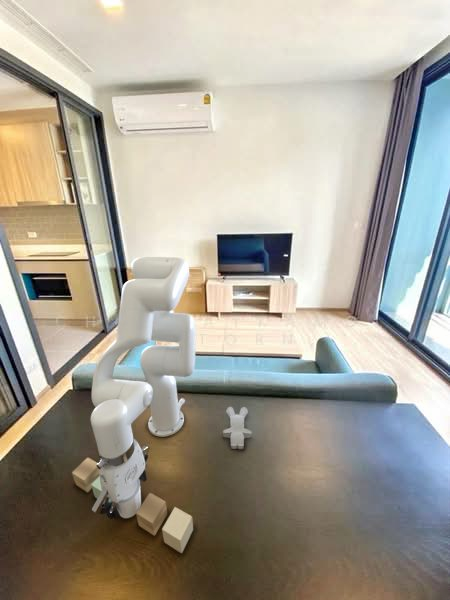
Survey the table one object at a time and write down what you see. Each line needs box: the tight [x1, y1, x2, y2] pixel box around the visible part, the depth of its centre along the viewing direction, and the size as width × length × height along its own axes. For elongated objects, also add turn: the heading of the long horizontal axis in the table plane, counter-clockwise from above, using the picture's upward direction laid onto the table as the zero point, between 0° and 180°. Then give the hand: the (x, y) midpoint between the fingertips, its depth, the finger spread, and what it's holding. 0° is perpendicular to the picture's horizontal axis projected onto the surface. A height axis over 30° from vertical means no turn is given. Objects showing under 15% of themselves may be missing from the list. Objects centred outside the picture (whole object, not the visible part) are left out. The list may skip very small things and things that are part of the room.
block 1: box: [71, 457, 99, 493], centre depth 71 cm, size 5×5×5 cm
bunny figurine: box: [222, 406, 252, 450], centre depth 86 cm, size 10×5×15 cm
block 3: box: [135, 492, 168, 536], centre depth 62 cm, size 5×5×5 cm
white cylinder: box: [115, 479, 142, 519], centre depth 64 cm, size 7×7×7 cm
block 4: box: [161, 506, 194, 554], centre depth 59 cm, size 5×5×5 cm
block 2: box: [91, 476, 112, 503], centre depth 68 cm, size 5×5×5 cm
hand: (128, 496), depth 65 cm, fingers open, 9 cm apart
